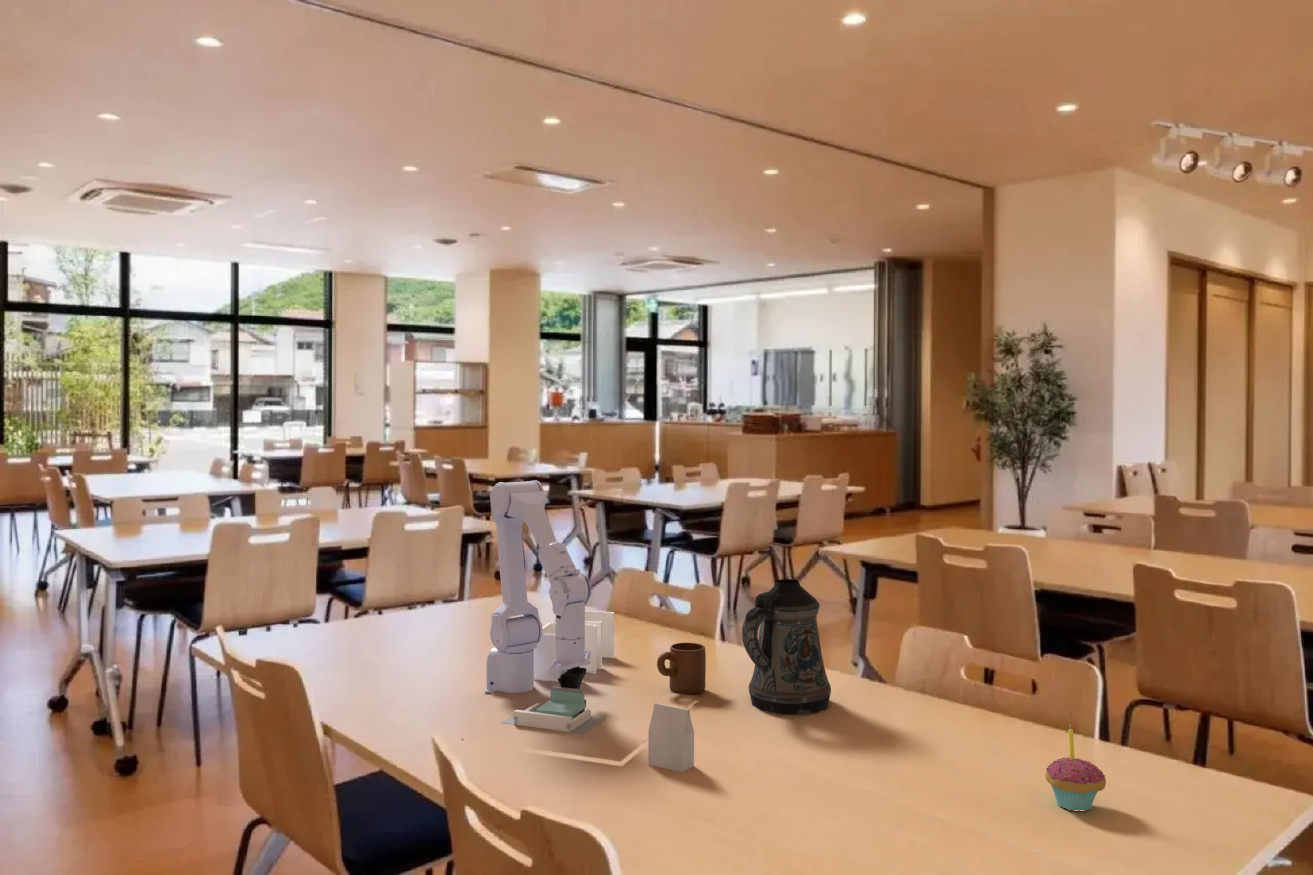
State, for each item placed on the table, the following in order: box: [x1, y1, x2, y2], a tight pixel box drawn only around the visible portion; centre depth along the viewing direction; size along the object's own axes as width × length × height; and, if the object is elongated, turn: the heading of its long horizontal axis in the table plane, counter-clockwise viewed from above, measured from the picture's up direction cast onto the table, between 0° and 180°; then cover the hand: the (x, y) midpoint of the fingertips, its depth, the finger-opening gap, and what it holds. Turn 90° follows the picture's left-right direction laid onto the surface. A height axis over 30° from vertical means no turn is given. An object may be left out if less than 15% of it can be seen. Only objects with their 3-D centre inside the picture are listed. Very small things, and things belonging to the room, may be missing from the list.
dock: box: [501, 702, 606, 735], centre depth 193 cm, size 17×10×3 cm, turn 69°
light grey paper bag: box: [647, 702, 695, 773], centre depth 172 cm, size 4×7×10 cm, turn 57°
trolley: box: [536, 685, 587, 717], centre depth 195 cm, size 7×8×5 cm
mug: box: [656, 642, 707, 696], centre depth 213 cm, size 12×8×9 cm, turn 130°
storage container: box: [534, 610, 615, 684], centre depth 231 cm, size 25×11×11 cm, turn 167°
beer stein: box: [741, 578, 832, 716], centre depth 205 cm, size 16×19×25 cm
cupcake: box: [1045, 723, 1107, 811], centre depth 155 cm, size 9×8×12 cm
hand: (570, 705), depth 199 cm, fingers closed, pressing on trolley
